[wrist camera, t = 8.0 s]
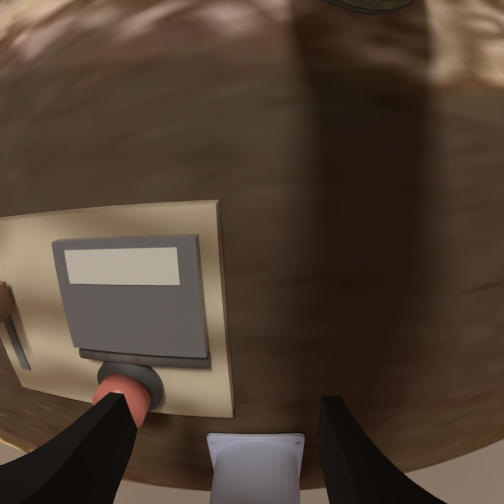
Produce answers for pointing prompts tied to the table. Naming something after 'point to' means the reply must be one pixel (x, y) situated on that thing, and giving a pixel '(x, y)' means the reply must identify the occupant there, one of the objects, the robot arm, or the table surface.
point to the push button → (126, 394)
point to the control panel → (105, 362)
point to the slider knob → (5, 302)
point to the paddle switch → (133, 294)
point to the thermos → (371, 5)
